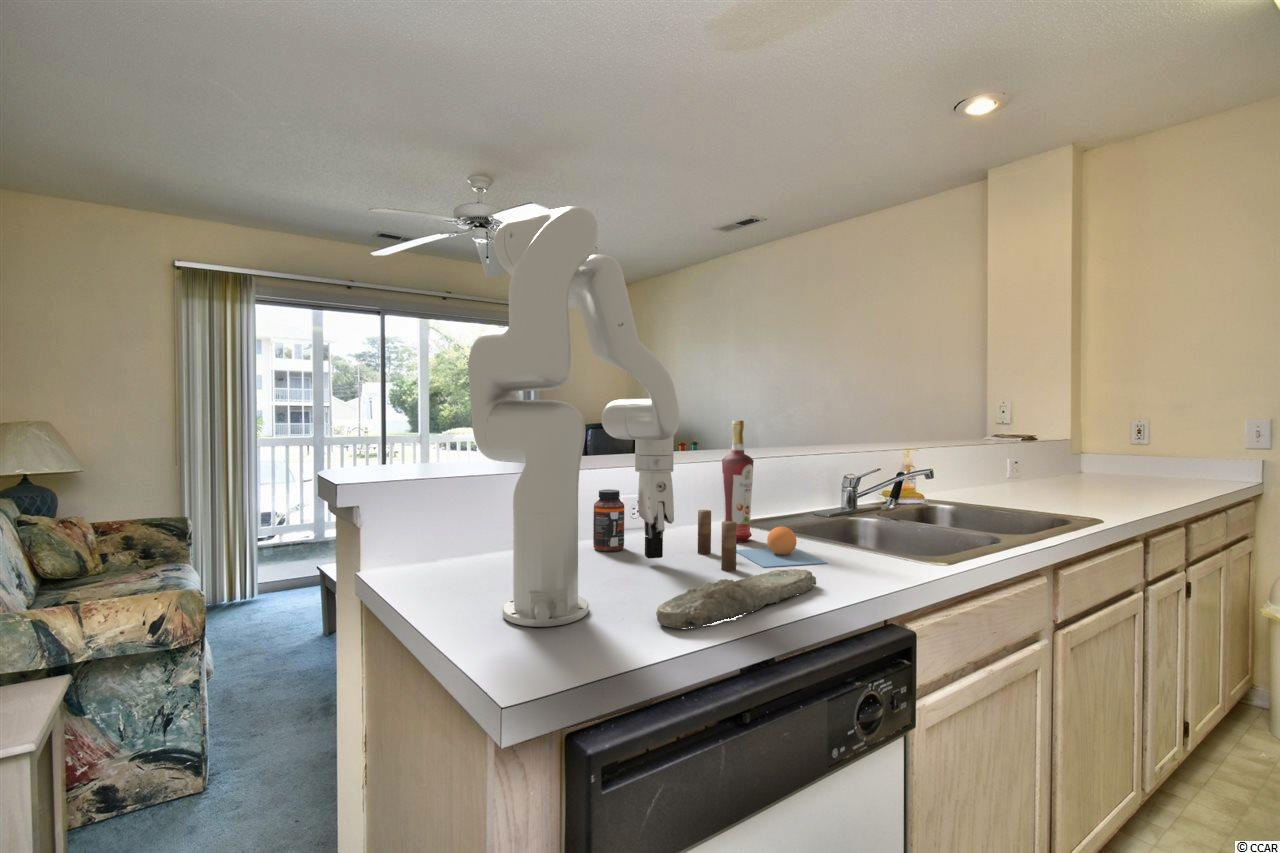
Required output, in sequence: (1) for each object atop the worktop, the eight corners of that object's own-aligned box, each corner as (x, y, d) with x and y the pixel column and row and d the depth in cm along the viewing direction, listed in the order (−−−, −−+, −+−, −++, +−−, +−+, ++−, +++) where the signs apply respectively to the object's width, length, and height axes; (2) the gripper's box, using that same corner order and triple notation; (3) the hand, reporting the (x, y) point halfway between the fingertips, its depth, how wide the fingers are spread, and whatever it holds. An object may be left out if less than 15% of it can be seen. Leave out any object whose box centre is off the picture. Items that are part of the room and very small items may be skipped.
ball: (789, 524, 121) (771, 546, 119) (807, 542, 122) (789, 564, 121) (774, 518, 126) (756, 539, 125) (791, 536, 128) (774, 557, 127)
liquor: (738, 545, 133) (739, 421, 132) (714, 539, 139) (715, 420, 138) (759, 540, 138) (760, 420, 137) (735, 535, 143) (736, 420, 143)
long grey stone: (831, 598, 100) (782, 588, 108) (831, 567, 101) (782, 559, 108) (690, 639, 77) (640, 623, 84) (691, 598, 77) (640, 586, 85)
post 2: (738, 570, 111) (738, 523, 111) (724, 571, 111) (725, 524, 110) (732, 567, 114) (733, 520, 114) (719, 568, 113) (719, 521, 113)
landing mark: (827, 563, 117) (827, 562, 117) (763, 567, 114) (763, 566, 114) (792, 547, 131) (792, 546, 131) (734, 551, 127) (734, 550, 127)
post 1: (712, 554, 124) (713, 511, 124) (700, 555, 123) (700, 512, 123) (708, 551, 127) (708, 509, 127) (695, 551, 126) (696, 510, 126)
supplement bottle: (623, 552, 125) (623, 492, 125) (591, 552, 125) (591, 492, 125) (625, 545, 132) (625, 488, 132) (594, 545, 132) (595, 488, 132)
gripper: (684, 467, 109) (683, 565, 109) (661, 460, 123) (661, 547, 124) (645, 467, 107) (644, 568, 107) (626, 461, 121) (626, 549, 122)
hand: (653, 557), depth 115 cm, fingers closed
